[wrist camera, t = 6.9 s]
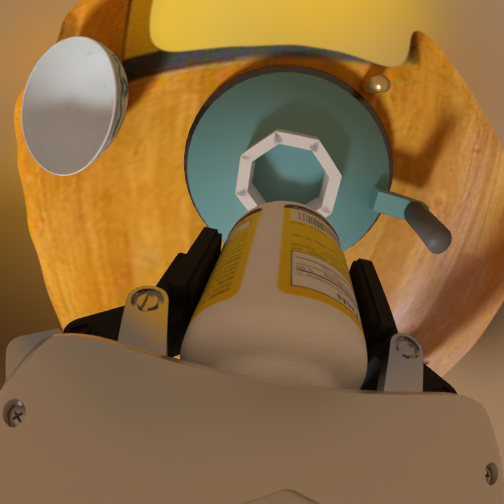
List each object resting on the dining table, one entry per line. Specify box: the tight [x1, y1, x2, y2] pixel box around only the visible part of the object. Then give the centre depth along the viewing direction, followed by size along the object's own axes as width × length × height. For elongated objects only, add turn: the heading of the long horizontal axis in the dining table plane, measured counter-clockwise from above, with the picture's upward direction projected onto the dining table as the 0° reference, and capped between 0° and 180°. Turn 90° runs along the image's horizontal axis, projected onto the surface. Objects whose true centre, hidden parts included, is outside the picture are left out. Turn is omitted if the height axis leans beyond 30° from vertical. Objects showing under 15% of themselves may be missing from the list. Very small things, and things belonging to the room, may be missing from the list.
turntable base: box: [184, 65, 393, 251], centre depth 25 cm, size 22×23×5 cm
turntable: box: [187, 72, 452, 254], centre depth 23 cm, size 24×20×9 cm
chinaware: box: [21, 36, 129, 176], centre depth 22 cm, size 15×15×8 cm
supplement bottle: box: [180, 201, 367, 390], centre depth 9 cm, size 5×5×10 cm
